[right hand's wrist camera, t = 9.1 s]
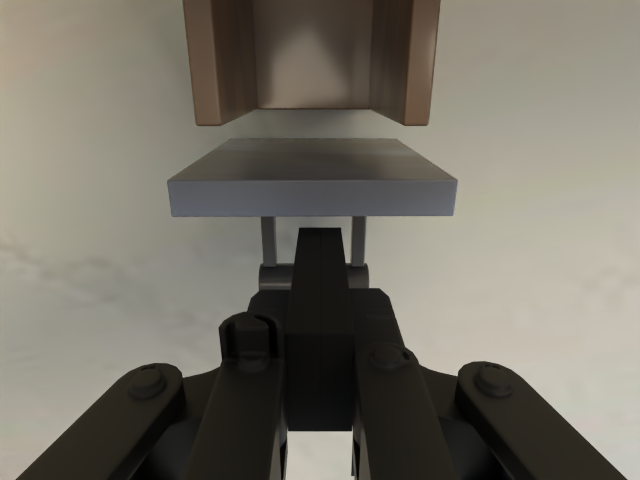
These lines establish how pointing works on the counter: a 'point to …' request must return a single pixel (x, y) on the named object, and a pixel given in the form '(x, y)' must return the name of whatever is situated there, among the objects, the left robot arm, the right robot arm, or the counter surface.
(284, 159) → the drawer
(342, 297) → the right robot arm
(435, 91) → the counter surface
